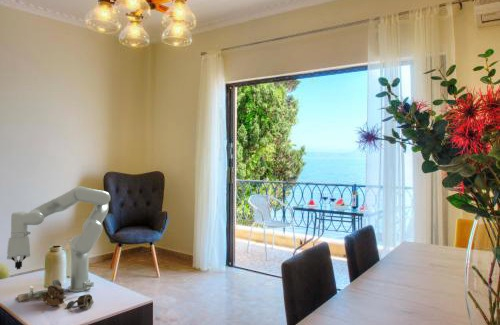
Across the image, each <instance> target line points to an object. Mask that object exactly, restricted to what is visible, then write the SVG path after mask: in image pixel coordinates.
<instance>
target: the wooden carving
mask: <svg viewBox="0 0 500 325" xmlns="http://www.w3.org/2000/svg"><path fill="white" fill-rule="evenodd" d="M48 286H49V287H48ZM48 286H47V290H48V292H46V293H43V294H42V298H41V299H42V302H43V303H44V302H45V303H47V304H48V305H50V306H53V307H54V306H60V305H62V304H64V303H65V301H64V299H67V296H65V295H64V294H65V288H64V287H62V285H61V286H59V285H54V286H53V284H52V285H48Z"/></svg>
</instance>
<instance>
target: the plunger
mask: <svg viewBox="0 0 500 325" xmlns="http://www.w3.org/2000/svg"><path fill="white" fill-rule="evenodd" d="M33 292H34V286H33V285H29V293H30V294H31V293H32V297H33Z"/></svg>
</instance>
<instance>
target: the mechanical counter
mask: <svg viewBox="0 0 500 325" xmlns="http://www.w3.org/2000/svg"><path fill="white" fill-rule="evenodd" d="M94 303H95V302H94V300H93V296H92V295H91V294H90V293H87V294H83V295H80V296H78V298H77V299H76V300H74V301H73V300H70V301H69V302H68V303H67V304H66V308H67V309H70V308H71V309H76V308H78V309H86V310H87V311H88V310H89V309H91V307H92V305H94ZM75 304H77V305H75Z"/></svg>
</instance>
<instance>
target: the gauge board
mask: <svg viewBox="0 0 500 325" xmlns="http://www.w3.org/2000/svg"><path fill="white" fill-rule="evenodd" d="M52 285H53V286H54V285H59V286H61V287H62V283H61V282H60V280H59V279H53V280H52ZM49 286H50V285H48V286H47V288H48V287H49ZM46 292H48V289H43V290H39V291H33V297H32V293H31V294H30V292H27V293H21V294H17V301H18V303H24V302H30V301H35V300H40V299H41V300H42V299H43V298H42V294H43V293H46Z"/></svg>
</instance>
